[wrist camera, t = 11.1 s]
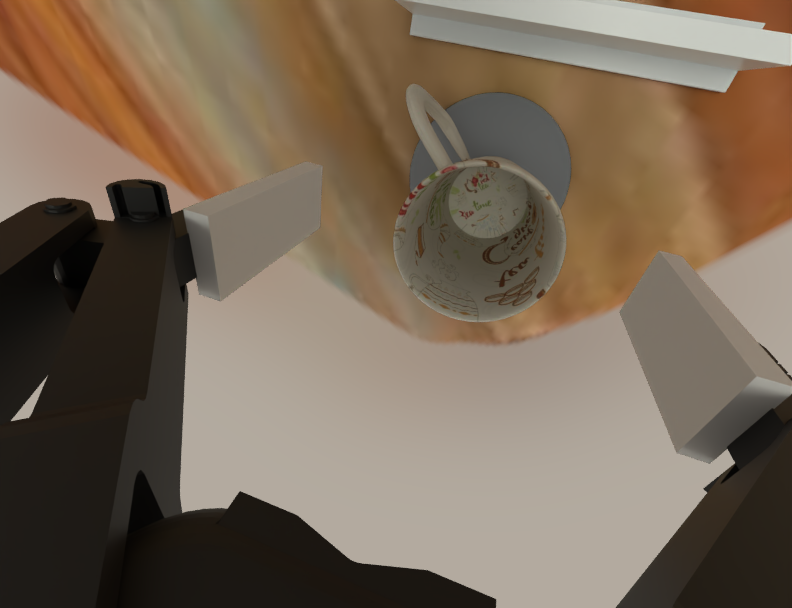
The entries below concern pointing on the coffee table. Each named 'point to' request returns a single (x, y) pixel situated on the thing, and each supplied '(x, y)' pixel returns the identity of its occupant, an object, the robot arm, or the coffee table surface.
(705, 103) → the coffee table surface
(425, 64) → the coffee table surface
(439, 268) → the mug
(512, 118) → the coaster
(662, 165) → the coffee table surface
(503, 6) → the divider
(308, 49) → the coffee table surface
